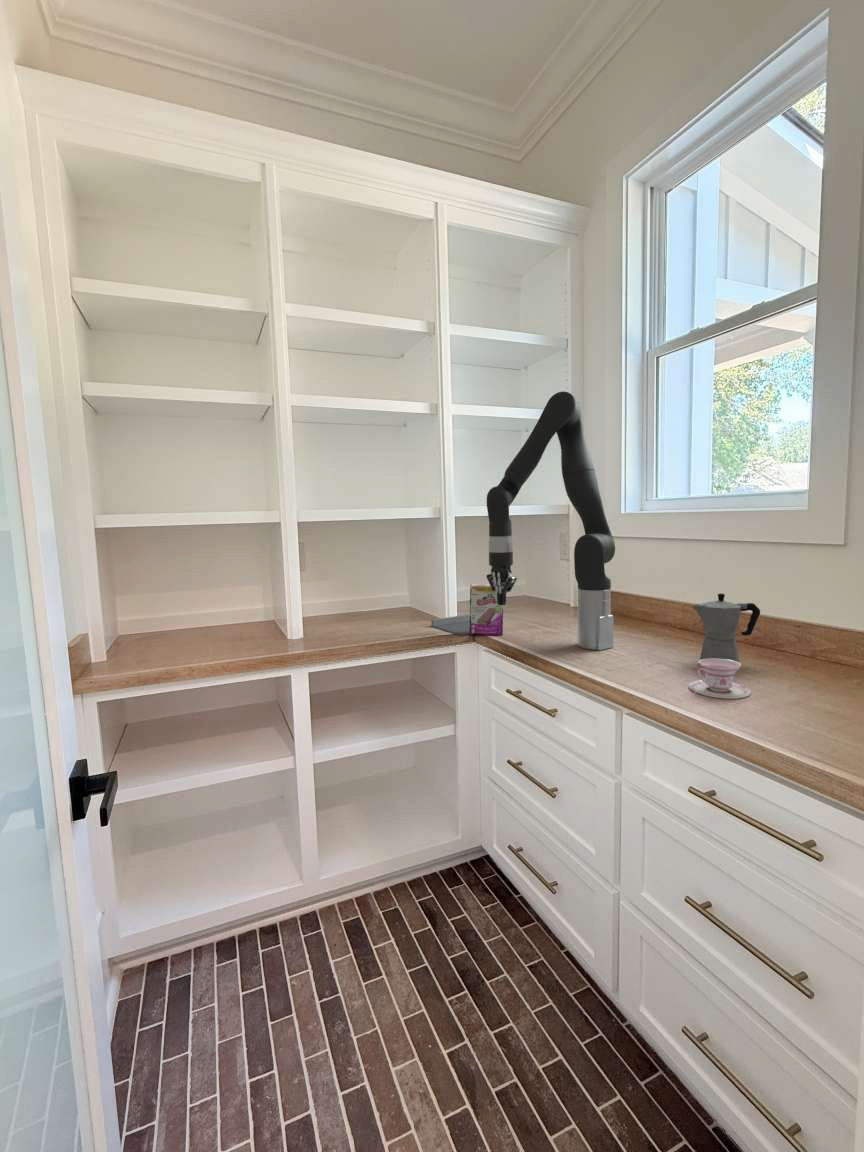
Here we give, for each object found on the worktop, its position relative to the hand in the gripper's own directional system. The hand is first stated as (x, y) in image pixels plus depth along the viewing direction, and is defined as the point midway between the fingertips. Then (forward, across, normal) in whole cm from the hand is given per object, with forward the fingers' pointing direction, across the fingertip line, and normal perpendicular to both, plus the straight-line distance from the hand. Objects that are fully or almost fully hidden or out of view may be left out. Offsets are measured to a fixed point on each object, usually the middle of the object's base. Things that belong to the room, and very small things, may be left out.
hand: (501, 604), depth 169 cm
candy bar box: (+11, +8, 0) cm, 14 cm away
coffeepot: (+11, -56, -27) cm, 64 cm away
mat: (+11, +20, 0) cm, 23 cm away
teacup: (+11, -67, -6) cm, 69 cm away
